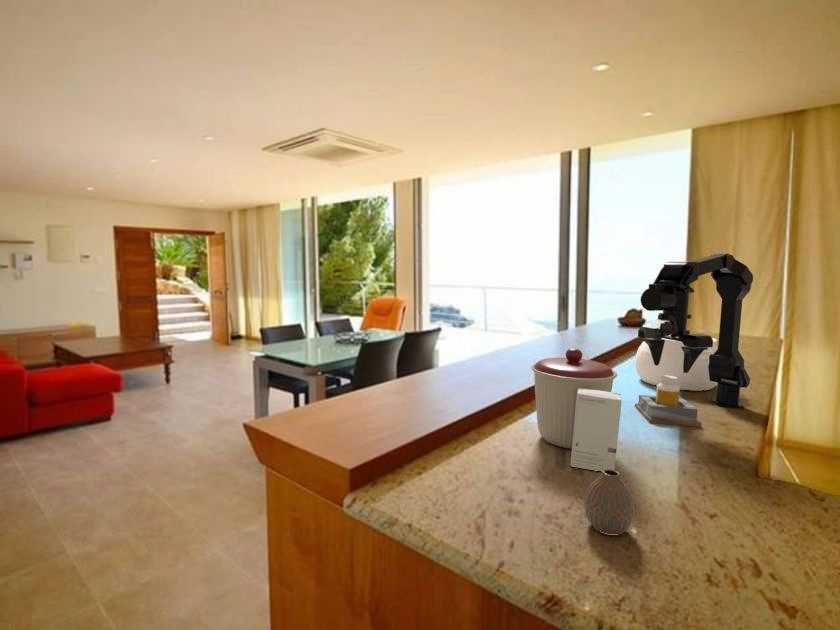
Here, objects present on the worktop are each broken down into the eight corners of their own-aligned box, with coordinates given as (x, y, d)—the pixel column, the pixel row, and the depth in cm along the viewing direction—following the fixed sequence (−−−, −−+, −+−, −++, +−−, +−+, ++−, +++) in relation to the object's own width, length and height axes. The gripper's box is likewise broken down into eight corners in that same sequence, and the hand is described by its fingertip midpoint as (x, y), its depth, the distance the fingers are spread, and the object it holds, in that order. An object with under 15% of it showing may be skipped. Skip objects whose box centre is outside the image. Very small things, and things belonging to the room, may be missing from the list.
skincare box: (570, 468, 91) (574, 393, 89) (572, 456, 96) (576, 386, 95) (616, 476, 88) (622, 399, 86) (616, 464, 93) (621, 391, 92)
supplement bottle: (680, 416, 122) (683, 379, 121) (658, 414, 123) (661, 378, 122) (673, 410, 127) (676, 375, 126) (652, 408, 128) (655, 373, 127)
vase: (575, 516, 73) (578, 462, 72) (617, 515, 74) (621, 462, 73) (595, 542, 66) (599, 483, 65) (642, 541, 67) (646, 482, 66)
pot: (742, 395, 148) (746, 344, 146) (657, 393, 148) (661, 342, 146) (691, 375, 176) (694, 331, 174) (620, 373, 176) (623, 330, 175)
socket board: (634, 406, 133) (635, 393, 132) (680, 410, 131) (681, 396, 130) (649, 422, 119) (650, 407, 119) (700, 426, 117) (702, 411, 116)
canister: (512, 440, 105) (516, 347, 103) (551, 422, 118) (555, 339, 116) (591, 465, 93) (598, 360, 90) (624, 441, 106) (631, 349, 104)
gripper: (624, 307, 128) (620, 363, 129) (682, 314, 110) (677, 378, 112) (655, 306, 132) (651, 361, 133) (717, 313, 114) (711, 376, 116)
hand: (670, 368), depth 123 cm, fingers open, 9 cm apart
